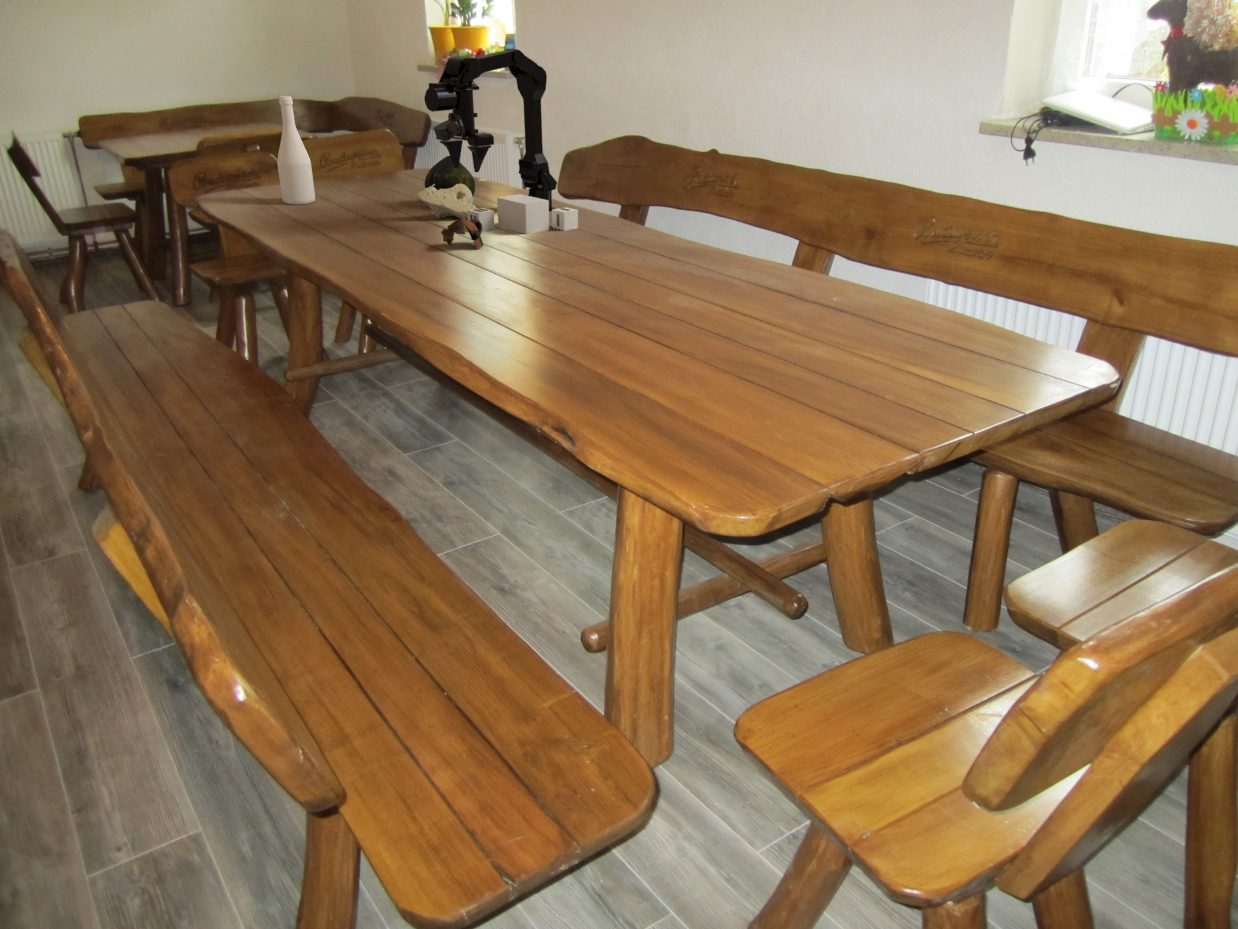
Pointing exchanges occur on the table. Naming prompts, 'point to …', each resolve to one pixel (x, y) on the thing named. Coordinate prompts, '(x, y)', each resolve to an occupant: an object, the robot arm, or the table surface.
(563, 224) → the striped block one
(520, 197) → the plain grey block
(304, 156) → the wine bottle
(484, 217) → the white marked cube
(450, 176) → the squash
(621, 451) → the table surface
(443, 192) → the cheese
